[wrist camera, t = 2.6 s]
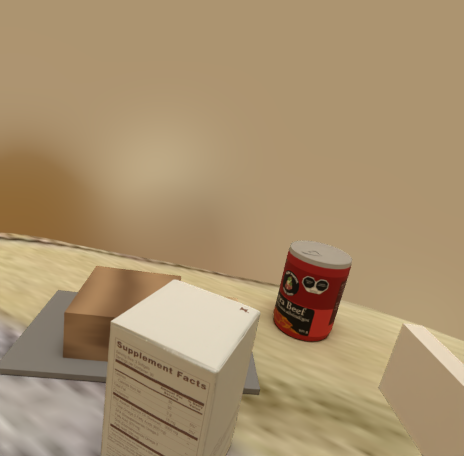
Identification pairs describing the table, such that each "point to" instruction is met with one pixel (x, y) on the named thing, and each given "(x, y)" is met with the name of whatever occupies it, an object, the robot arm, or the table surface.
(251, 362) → the slate mat
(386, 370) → the robot arm
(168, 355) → the supplement box
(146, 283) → the walnut block
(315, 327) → the canned food
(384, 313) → the table surface
